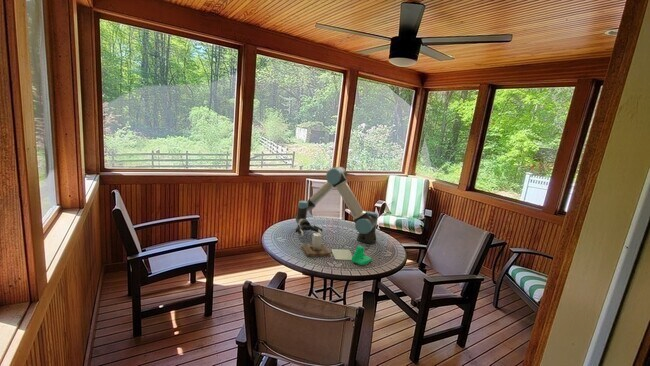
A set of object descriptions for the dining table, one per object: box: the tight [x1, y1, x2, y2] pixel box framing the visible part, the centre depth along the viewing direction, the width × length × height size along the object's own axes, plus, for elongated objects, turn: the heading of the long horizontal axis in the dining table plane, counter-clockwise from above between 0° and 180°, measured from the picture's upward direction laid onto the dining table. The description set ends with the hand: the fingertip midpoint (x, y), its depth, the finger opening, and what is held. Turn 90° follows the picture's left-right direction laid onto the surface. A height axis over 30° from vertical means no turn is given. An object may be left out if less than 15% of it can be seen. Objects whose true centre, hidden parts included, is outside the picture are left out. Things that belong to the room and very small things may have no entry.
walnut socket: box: [301, 243, 332, 258], centre depth 205 cm, size 16×16×2 cm
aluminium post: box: [311, 232, 323, 251], centre depth 204 cm, size 5×5×12 cm
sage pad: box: [331, 248, 353, 261], centre depth 205 cm, size 13×16×1 cm
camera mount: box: [350, 245, 372, 266], centre depth 196 cm, size 12×8×10 cm, turn 137°
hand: (312, 234), depth 214 cm, fingers open, 13 cm apart
